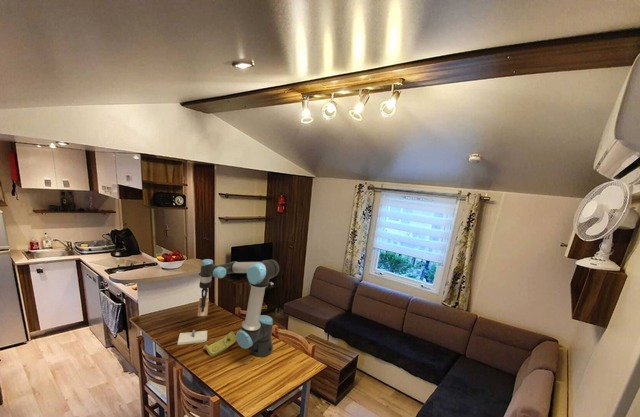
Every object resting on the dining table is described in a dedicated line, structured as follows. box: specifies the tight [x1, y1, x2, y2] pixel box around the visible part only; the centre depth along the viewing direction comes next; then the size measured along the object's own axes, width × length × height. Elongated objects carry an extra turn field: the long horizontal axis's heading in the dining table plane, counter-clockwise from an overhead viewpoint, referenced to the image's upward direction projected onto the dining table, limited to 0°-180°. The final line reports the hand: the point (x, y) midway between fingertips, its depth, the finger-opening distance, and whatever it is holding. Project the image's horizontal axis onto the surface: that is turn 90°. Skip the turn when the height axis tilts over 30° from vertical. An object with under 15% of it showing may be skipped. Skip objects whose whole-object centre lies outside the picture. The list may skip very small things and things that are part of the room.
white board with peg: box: [177, 329, 208, 346], centre depth 182 cm, size 12×18×6 cm, turn 111°
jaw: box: [197, 297, 210, 317], centre depth 183 cm, size 7×6×10 cm
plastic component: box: [202, 331, 237, 357], centre depth 175 cm, size 20×7×10 cm
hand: (202, 312), depth 184 cm, fingers closed on jaw, 7 cm apart
